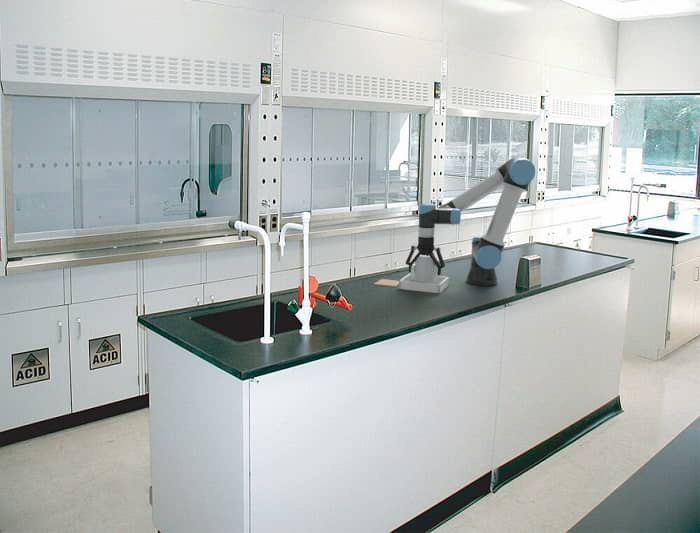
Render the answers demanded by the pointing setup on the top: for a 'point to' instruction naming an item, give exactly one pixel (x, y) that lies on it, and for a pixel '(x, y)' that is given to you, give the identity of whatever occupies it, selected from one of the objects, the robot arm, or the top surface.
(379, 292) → the top surface
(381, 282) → the tile
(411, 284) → the bin
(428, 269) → the skincare box
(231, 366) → the top surface
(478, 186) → the robot arm
